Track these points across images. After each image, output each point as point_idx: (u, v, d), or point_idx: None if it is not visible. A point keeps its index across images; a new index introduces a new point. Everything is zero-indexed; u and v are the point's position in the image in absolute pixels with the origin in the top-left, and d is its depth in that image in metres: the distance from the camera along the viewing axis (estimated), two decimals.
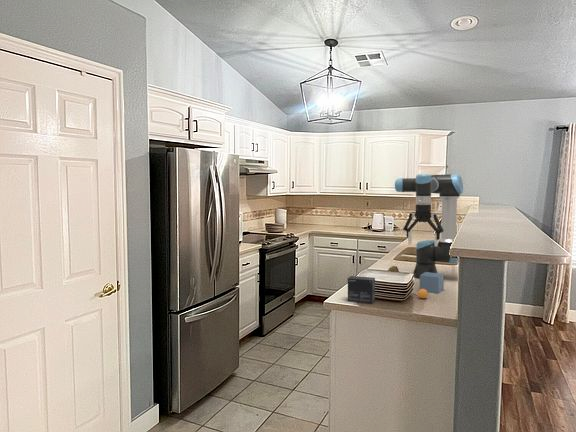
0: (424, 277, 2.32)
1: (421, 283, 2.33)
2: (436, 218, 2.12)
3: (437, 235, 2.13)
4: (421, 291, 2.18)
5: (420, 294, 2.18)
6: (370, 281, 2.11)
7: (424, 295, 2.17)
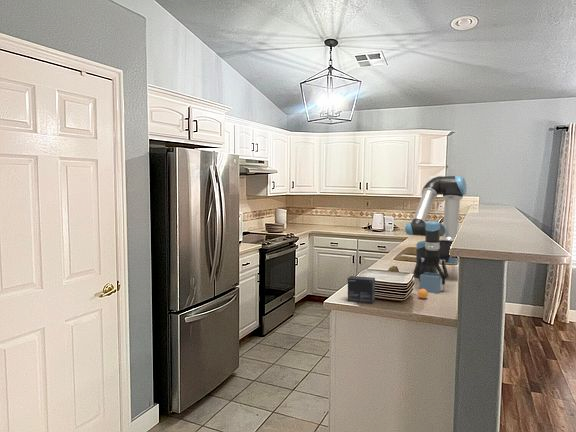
0: (424, 277, 2.32)
1: (421, 283, 2.33)
2: (444, 264, 2.30)
3: (443, 280, 2.31)
4: (421, 291, 2.18)
5: (420, 294, 2.18)
6: (370, 281, 2.11)
7: (424, 295, 2.17)
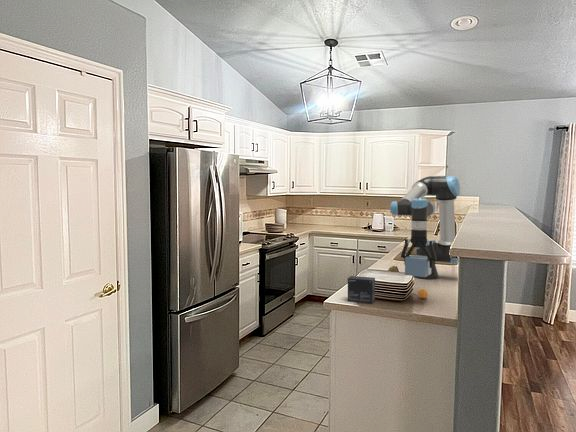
0: (410, 259, 2.09)
1: (406, 266, 2.11)
2: (431, 245, 2.07)
3: (430, 263, 2.08)
4: (421, 291, 2.18)
5: (420, 294, 2.18)
6: (370, 281, 2.11)
7: (424, 295, 2.17)
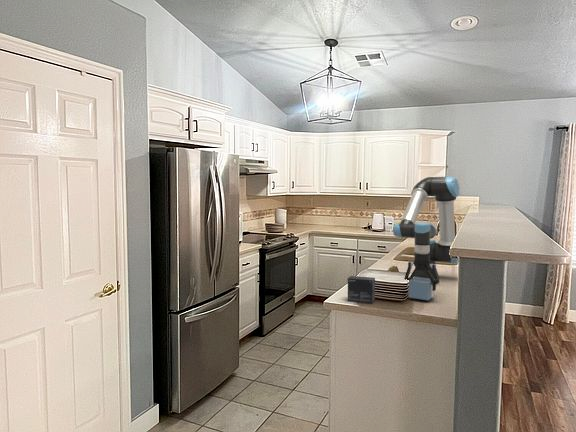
0: (413, 283, 2.14)
1: (410, 289, 2.15)
2: (434, 269, 2.12)
3: (433, 286, 2.13)
4: None
5: None
6: (370, 281, 2.11)
7: None
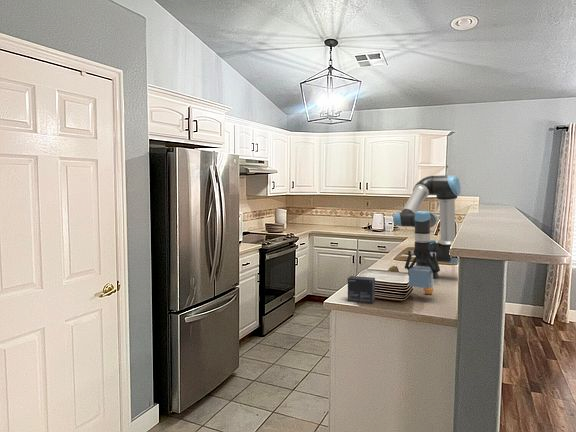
0: (413, 271, 2.14)
1: (410, 278, 2.15)
2: (435, 257, 2.11)
3: (433, 274, 2.13)
4: None
5: None
6: (370, 281, 2.11)
7: None
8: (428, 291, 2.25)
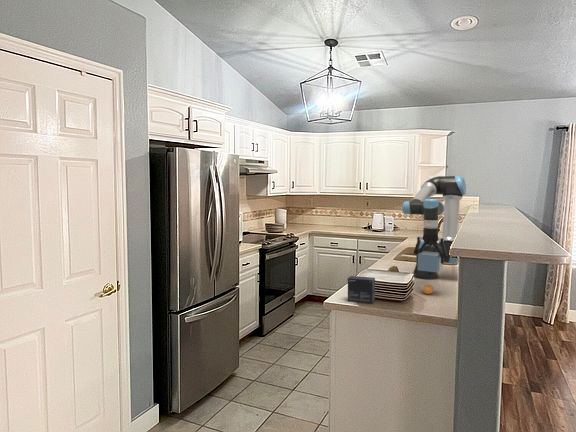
0: (422, 256, 2.25)
1: (419, 262, 2.26)
2: (442, 242, 2.22)
3: (441, 259, 2.23)
4: None
5: None
6: (370, 281, 2.11)
7: None
8: (428, 291, 2.25)
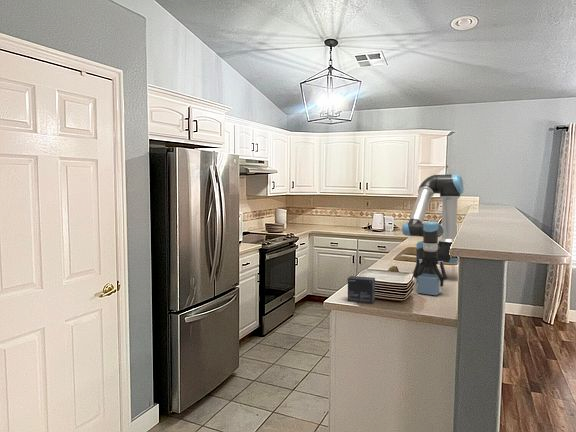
0: (422, 279, 2.26)
1: (419, 285, 2.27)
2: (442, 266, 2.23)
3: (441, 282, 2.24)
4: None
5: None
6: (370, 281, 2.11)
7: None
8: None
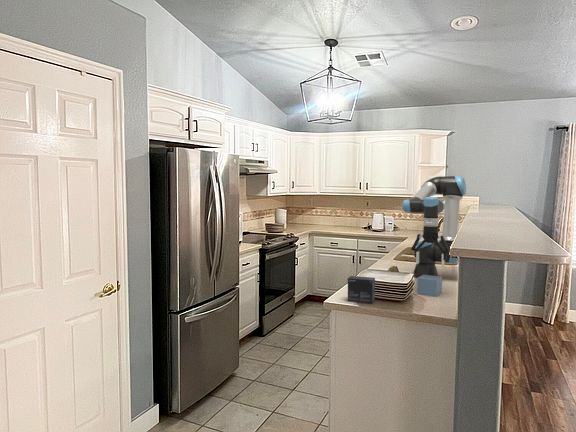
0: (422, 280, 2.26)
1: (419, 286, 2.27)
2: (443, 239, 2.22)
3: (444, 256, 2.22)
4: None
5: None
6: (370, 281, 2.11)
7: None
8: None
